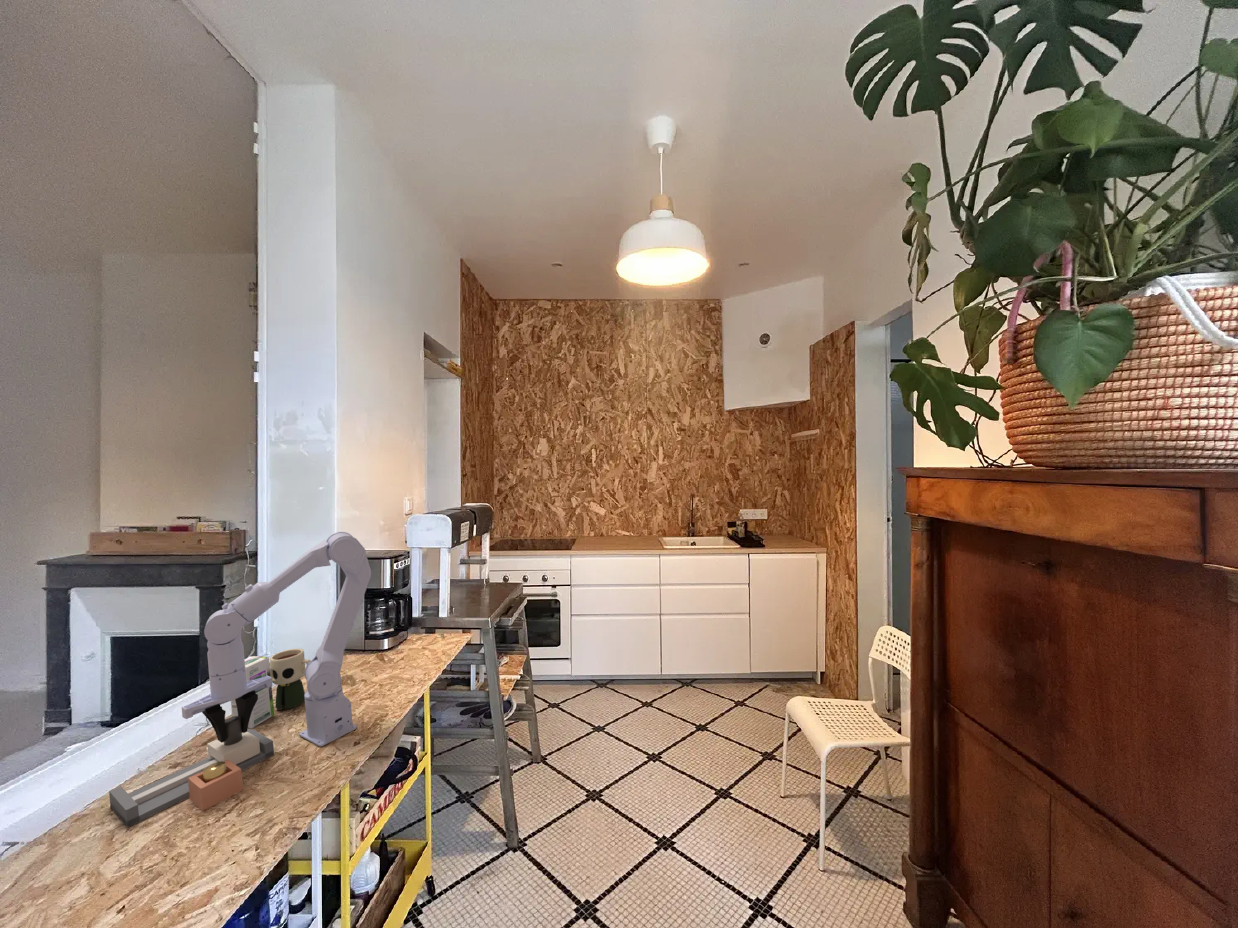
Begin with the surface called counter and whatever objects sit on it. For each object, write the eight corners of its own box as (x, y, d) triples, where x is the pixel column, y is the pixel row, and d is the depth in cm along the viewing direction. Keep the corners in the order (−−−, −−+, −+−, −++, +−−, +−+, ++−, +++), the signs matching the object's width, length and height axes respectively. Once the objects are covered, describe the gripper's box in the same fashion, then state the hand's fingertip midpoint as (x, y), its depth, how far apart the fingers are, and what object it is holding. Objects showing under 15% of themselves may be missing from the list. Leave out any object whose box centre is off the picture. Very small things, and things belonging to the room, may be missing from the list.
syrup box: (252, 728, 112) (247, 666, 112) (231, 727, 113) (226, 665, 113) (275, 715, 118) (270, 655, 117) (254, 714, 119) (249, 655, 118)
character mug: (258, 715, 118) (254, 662, 118) (276, 700, 125) (273, 650, 125) (305, 710, 119) (301, 658, 119) (321, 696, 126) (317, 646, 126)
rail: (274, 754, 101) (272, 740, 101) (127, 827, 83) (125, 810, 83) (252, 741, 107) (251, 728, 107) (110, 807, 88) (109, 790, 88)
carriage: (260, 752, 100) (257, 717, 100) (224, 769, 95) (221, 732, 95) (243, 742, 104) (240, 708, 104) (208, 757, 99) (205, 722, 99)
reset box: (243, 789, 91) (241, 768, 91) (202, 810, 86) (200, 788, 86) (229, 779, 94) (227, 759, 94) (189, 799, 89) (187, 777, 89)
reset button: (229, 780, 90) (228, 764, 90) (208, 791, 88) (206, 774, 88) (222, 774, 92) (221, 759, 92) (201, 785, 89) (200, 769, 89)
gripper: (259, 652, 108) (264, 713, 108) (173, 681, 95) (179, 749, 96) (274, 658, 104) (279, 721, 104) (187, 688, 91) (193, 760, 92)
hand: (232, 735), depth 100 cm, fingers closed on carriage, 3 cm apart
